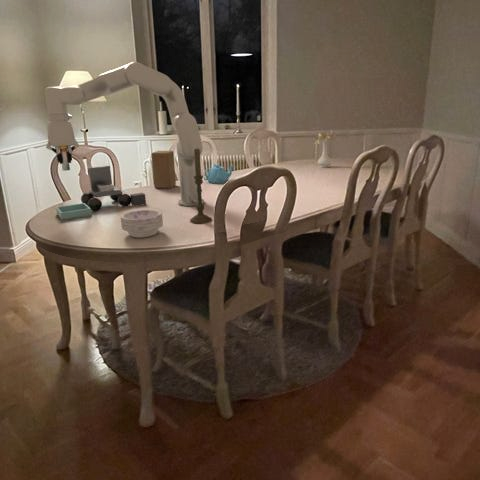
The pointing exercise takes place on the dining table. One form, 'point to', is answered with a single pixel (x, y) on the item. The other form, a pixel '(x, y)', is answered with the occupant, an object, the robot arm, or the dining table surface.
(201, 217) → the candlestick holder
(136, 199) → the chock
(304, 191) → the dining table surface
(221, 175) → the teapot
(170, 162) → the wooden block
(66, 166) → the stop pin
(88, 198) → the trolley
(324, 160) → the flower vase
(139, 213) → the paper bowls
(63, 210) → the tray
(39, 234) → the dining table surface
